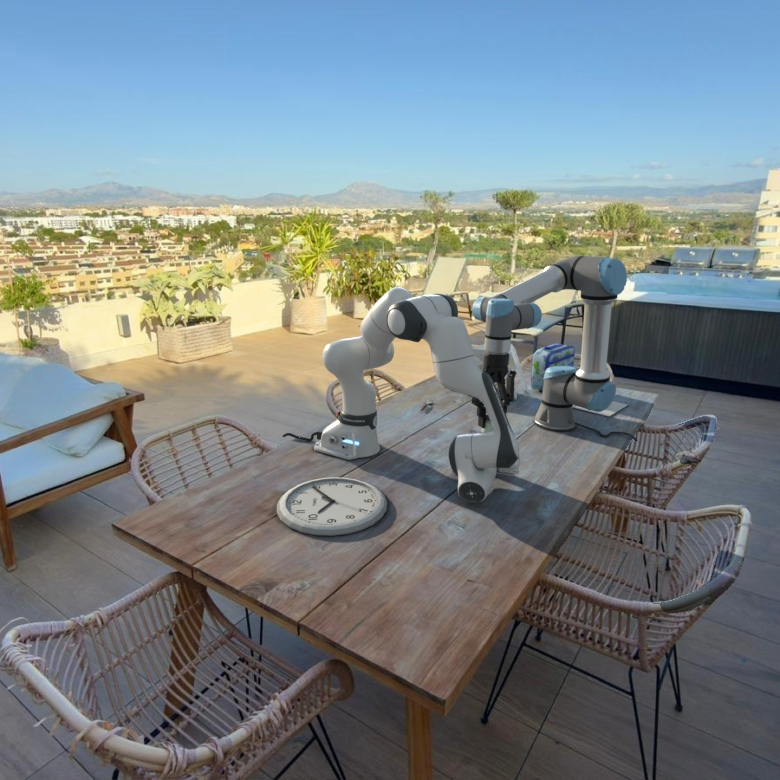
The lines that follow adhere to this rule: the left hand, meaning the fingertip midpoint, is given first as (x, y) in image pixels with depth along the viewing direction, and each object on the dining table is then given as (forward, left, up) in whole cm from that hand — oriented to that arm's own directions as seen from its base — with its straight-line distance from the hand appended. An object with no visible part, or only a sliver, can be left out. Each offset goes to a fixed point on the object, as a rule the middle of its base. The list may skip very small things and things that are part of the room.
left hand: (489, 450), depth 164 cm
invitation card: (+36, +79, -6) cm, 87 cm away
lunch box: (+14, +100, -6) cm, 101 cm away
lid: (0, -1, +13) cm, 13 cm away
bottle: (0, -1, -6) cm, 6 cm away
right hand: (0, -1, +9) cm, 9 cm away
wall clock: (-36, -38, -6) cm, 53 cm away
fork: (-34, +51, -6) cm, 62 cm away
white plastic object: (-16, +80, -6) cm, 82 cm away
